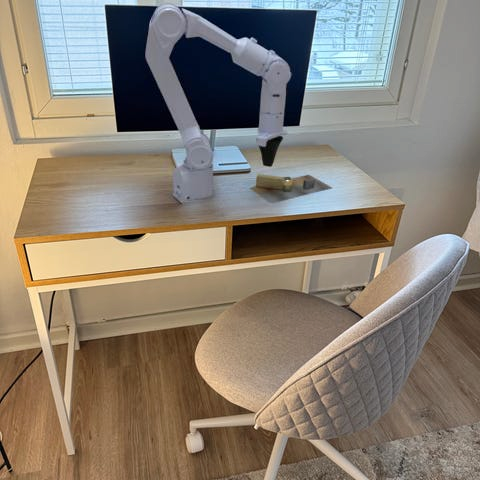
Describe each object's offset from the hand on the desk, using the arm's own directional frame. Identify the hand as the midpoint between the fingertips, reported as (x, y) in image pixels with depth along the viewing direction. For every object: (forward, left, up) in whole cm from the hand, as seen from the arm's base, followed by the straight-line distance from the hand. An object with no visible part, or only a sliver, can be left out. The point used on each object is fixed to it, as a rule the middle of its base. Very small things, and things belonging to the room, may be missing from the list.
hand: (267, 165), depth 116 cm
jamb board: (+7, -2, -8) cm, 11 cm away
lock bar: (+3, 0, -7) cm, 7 cm away
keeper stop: (+11, -4, -7) cm, 13 cm away
